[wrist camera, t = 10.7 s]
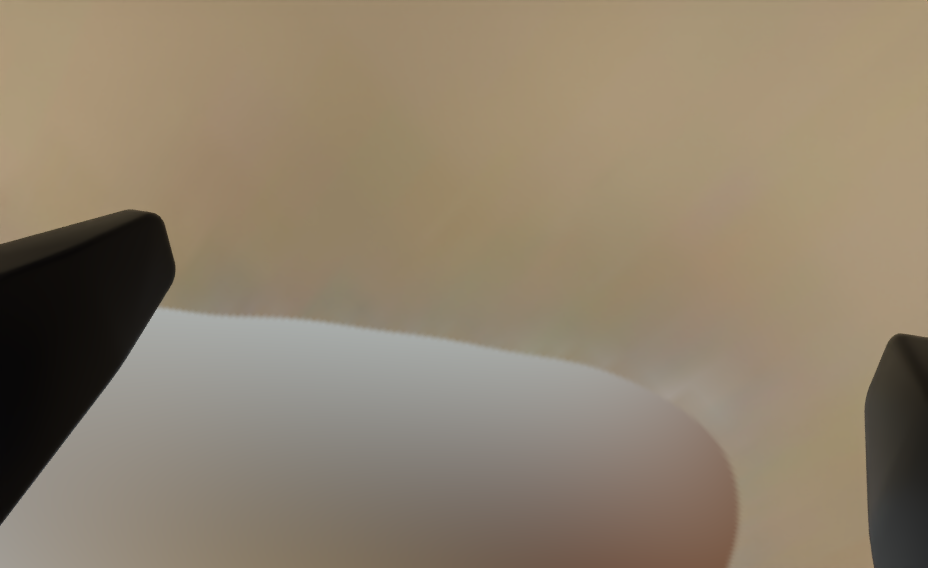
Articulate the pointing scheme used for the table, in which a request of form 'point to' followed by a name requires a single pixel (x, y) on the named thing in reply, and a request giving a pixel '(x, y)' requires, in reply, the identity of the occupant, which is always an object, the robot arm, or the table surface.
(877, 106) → the table surface
